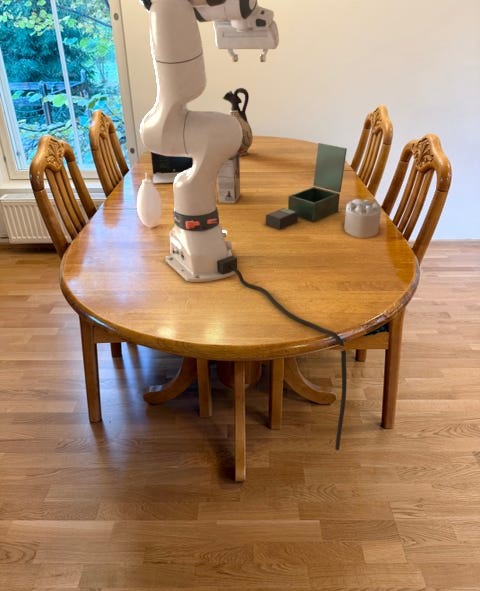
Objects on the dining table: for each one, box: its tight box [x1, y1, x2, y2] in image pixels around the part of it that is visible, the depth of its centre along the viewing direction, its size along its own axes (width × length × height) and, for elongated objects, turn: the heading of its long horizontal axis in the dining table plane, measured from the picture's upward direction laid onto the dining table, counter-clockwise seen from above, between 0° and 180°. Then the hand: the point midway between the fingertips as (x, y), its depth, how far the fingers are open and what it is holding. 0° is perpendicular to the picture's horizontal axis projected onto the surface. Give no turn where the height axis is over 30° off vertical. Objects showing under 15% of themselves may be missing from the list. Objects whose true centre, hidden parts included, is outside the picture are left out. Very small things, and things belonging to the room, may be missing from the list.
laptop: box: [150, 152, 193, 185], centre depth 199 cm, size 18×12×13 cm
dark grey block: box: [265, 207, 299, 231], centre depth 158 cm, size 9×6×4 cm, turn 135°
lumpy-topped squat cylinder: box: [343, 198, 382, 239], centre depth 151 cm, size 10×13×9 cm
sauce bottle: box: [136, 171, 163, 229], centre depth 153 cm, size 8×8×18 cm
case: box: [287, 186, 341, 223], centre depth 165 cm, size 14×11×6 cm
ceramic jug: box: [221, 87, 254, 157], centre depth 229 cm, size 17×15×30 cm
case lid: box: [312, 142, 348, 194], centre depth 166 cm, size 14×11×5 cm
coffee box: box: [217, 152, 241, 204], centre depth 176 cm, size 9×6×16 cm
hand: (249, 61), depth 160 cm, fingers open, 8 cm apart
